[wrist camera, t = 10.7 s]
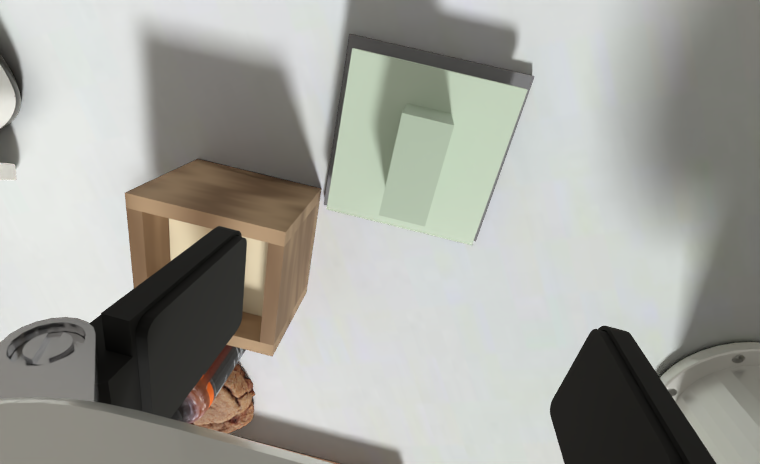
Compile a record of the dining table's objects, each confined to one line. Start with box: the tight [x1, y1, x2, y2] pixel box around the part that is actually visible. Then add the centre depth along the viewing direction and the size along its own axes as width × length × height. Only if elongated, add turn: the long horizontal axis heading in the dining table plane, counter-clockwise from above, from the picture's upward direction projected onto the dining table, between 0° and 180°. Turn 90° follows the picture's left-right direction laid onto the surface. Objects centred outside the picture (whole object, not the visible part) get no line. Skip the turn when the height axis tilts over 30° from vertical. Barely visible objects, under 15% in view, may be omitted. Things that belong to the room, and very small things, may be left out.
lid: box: [327, 48, 528, 245], centre depth 25 cm, size 11×11×6 cm
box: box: [125, 159, 321, 356], centre depth 29 cm, size 10×10×8 cm
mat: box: [324, 34, 534, 241], centre depth 28 cm, size 12×12×1 cm
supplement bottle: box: [170, 345, 246, 424], centre depth 33 cm, size 6×6×11 cm
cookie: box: [190, 364, 255, 434], centre depth 41 cm, size 10×11×3 cm
